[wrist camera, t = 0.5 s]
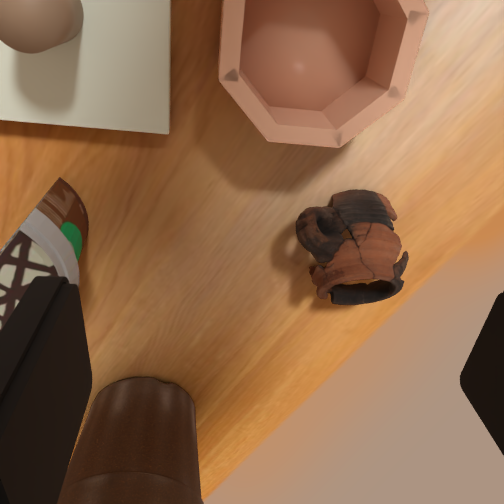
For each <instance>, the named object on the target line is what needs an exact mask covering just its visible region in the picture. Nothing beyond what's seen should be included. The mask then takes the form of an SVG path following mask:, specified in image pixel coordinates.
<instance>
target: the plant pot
mask: <svg viewBox="0 0 504 504" xmlns="http://www.w3.org/2000/svg"><path fill="white" fill-rule="evenodd" d="M57 504H204V503H203V501H202V499H201V489H200V475H199V463H198V449H197V433H196V417H195V406H194V403H193V401H192V399H191V398H190V396H189V395H188V394H187V392H186V391H184V390H183V389H182V388H180V387H179V386H177V385H175V384H173V383H168V384H165V383H162V382H160V381H158V380H157V379H155V378H151V377H136V378H129V379H124V380H121V381H118V382H115V383H113V384H111V385H109V386H107V387H106V388H104V389H103V390H102V391H100V392H99V394H98V395H97V397H96V398H95V400H94V402H93V404H92V406H91V409H90V412H89V414H88V417H87V420H86V422H85V425H84V428H83V430H82V433H81V435H80V438H79V441H78V443H77V446H76V448H75V451H74V454H73V456H72V459H71V461H70V464H69V467H68V469H67V472H66V475H65V479H64V482H63V485H62V489H61V492H60V495H59V498H58V502H57Z"/></svg>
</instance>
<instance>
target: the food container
mask: <svg viewBox="0 0 504 504" xmlns="http://www.w3.org/2000/svg"><path fill="white" fill-rule="evenodd" d="M87 232H88V216H87V212H86V209H85V206H84V204H83V202H82V200H81V199H80V197H79V196H78V194H77V193H76V192H75V191H74V189H73V188H72V187H71V186H70V185H69V184H68V183H66V182H65V181H64V180H63V179H61V178H60V177H59V178H58V180H57V181H56V182H55V183H54V185H53V186H52V187H51V188H50V190H49V191H48V192H47V193H46V195H45V196H44V197H43V198H42V200H41V201H40V202H39V203H38V205H37V206H36V207H35V208H34V210H33V211H32V212H31V213H30V214H29V216H28V217H27V218H26V219H25V221H24V222H23V223H22V224H21V226H20V227H19V228H18V229H17V231H16V232H15V233H14V234H13V236H12V237H11V238H10V239H9V241H8V242H7V243H6V244H5V246H4V247H3V248H2V249H1V250H0V332H1V330H2V328H3V327H4V325H5V324H6V322H7V320H8V319H9V317H10V315H11V314H12V312H13V311H14V309H15V307H16V306H17V304H18V303H19V301H20V299H21V298H22V296H23V295H24V293H25V291H26V290H27V288H28V287H29V285H30V283H31V282H32V280H33V279H34V278H35V277H36V276H65V277H67V278H68V280H69V283H70V284H77V286H79V267H78V260H79V257H80V254H81V251H82V248H83V245H84V242H85V239H86V236H87Z"/></svg>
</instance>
